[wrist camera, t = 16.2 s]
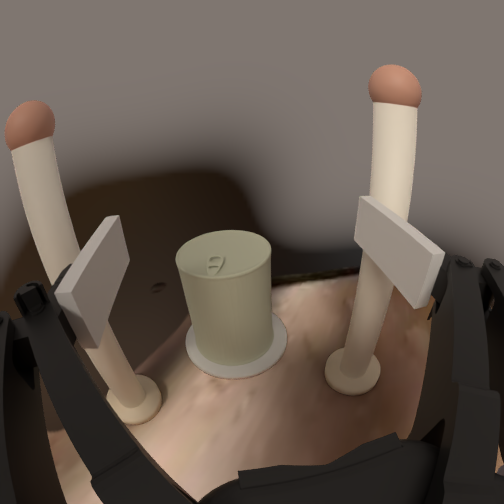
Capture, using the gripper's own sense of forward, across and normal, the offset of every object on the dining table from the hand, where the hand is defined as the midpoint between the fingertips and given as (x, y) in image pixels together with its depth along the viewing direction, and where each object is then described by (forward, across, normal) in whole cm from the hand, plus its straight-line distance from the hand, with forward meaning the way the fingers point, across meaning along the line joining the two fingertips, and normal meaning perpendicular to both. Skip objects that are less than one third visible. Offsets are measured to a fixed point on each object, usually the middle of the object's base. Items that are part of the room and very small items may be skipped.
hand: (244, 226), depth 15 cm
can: (+10, -1, -19) cm, 21 cm away
